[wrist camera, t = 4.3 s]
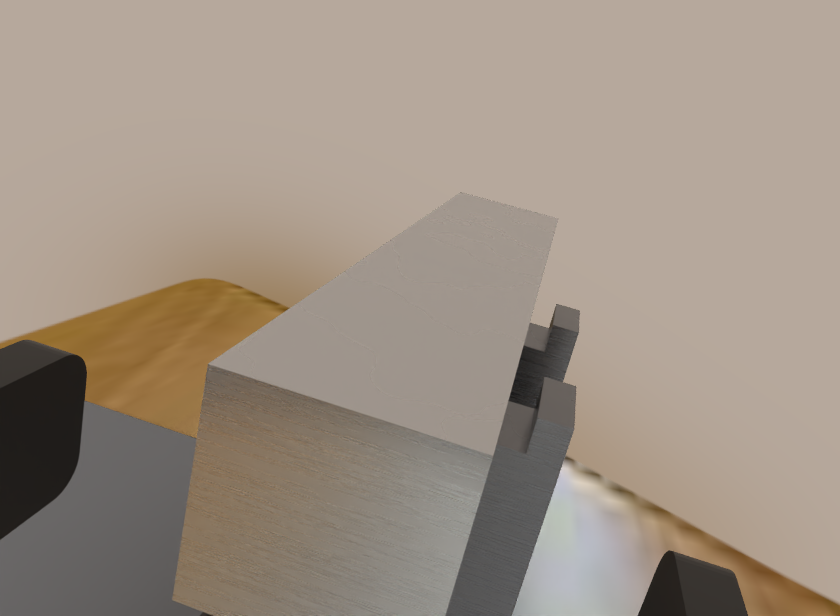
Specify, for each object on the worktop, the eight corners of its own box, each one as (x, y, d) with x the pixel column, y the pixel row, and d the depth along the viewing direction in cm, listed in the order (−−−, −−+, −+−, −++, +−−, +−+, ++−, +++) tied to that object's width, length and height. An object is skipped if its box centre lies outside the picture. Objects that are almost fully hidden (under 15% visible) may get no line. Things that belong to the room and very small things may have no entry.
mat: (-158, 1106, 12) (-158, 1084, 12) (-644, 852, 14) (-651, 830, 14) (304, 487, 32) (306, 475, 32) (83, 411, 34) (84, 400, 33)
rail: (422, 693, 9) (493, 455, 8) (172, 600, 10) (207, 363, 9) (530, 312, 26) (558, 218, 25) (437, 285, 27) (461, 192, 26)
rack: (444, 852, 18) (583, 447, 15) (194, 750, 19) (266, 347, 16) (496, 584, 29) (585, 306, 25) (331, 526, 30) (394, 251, 26)
